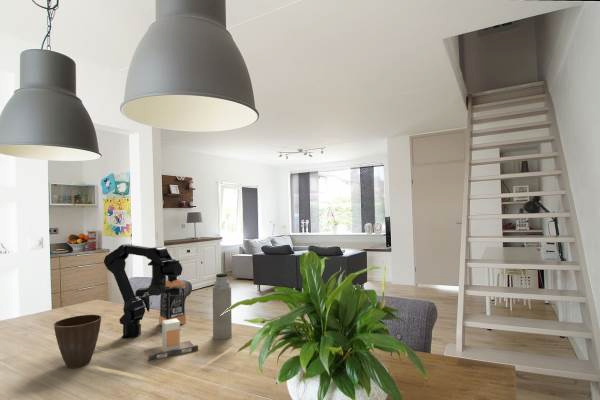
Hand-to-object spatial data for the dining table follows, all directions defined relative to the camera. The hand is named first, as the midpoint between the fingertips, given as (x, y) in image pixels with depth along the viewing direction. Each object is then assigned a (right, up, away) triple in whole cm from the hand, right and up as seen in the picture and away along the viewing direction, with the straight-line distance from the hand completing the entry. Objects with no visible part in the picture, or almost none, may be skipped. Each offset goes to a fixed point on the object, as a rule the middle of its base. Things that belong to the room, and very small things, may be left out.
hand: (159, 311), depth 158 cm
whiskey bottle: (-2, -13, +21) cm, 25 cm away
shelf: (+11, -11, -17) cm, 23 cm away
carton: (+12, -10, -18) cm, 24 cm away
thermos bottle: (+28, -12, -2) cm, 31 cm away
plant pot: (-20, -12, -26) cm, 35 cm away
